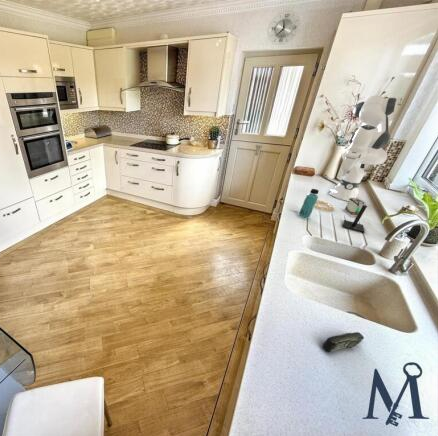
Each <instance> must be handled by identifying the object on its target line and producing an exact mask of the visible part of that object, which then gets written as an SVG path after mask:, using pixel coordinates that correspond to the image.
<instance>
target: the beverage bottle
mask: <svg viewBox="0 0 438 436" xmlns="http://www.w3.org/2000/svg"><path fill="white" fill-rule="evenodd" d="M318 194H319V189H316V188H311V189H310V190H309V193H308V194H306V197H305V198H304V201H303V203H302V205H301V207H300V209H299V212H298V215H299V216H300V217H303V218H307V219H308V218H310V216H311V214H312V212H313V210H314V208H315V207H314V205H315V204H317V203H316V201H317V200H318V199H319V196H318Z"/></svg>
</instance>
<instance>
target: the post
mask: <svg viewBox="0 0 438 436" xmlns="http://www.w3.org/2000/svg"><path fill="white" fill-rule="evenodd" d="M367 207H368V206H367V205H366V204H365V205H363V206H362V208H361V210H360V211H359V213H358V215H356V216H355V219H354V220H353V221H349V220H346V219H343V223H342V226H343V229H346V230H351V231H354V232H358V233H361V234H364V233H365V228H364V224H362V223H359V221H360V220H361V218H362V216H363V215H364V213H365V211H366V209H367Z"/></svg>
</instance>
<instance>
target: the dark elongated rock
mask: <svg viewBox="0 0 438 436" xmlns="http://www.w3.org/2000/svg"><path fill="white" fill-rule="evenodd" d="M364 338H365V337H364V335H363V334H361V332H359V331H355V332H344V333H341V334H337V335H333V336H332V335H331V336H330V337H327V338H326V340H325V341H324V342H323V344H322V348H323V349H324V351H325V352H326V353H331V352H335V351H338V350H341V349H350V348H351V349H352V348H354V347H356V346H357V345H359V344H360V343H361V342H362V341H363V340H364Z"/></svg>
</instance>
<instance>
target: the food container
mask: <svg viewBox="0 0 438 436" xmlns="http://www.w3.org/2000/svg"><path fill="white" fill-rule="evenodd" d="M356 198H357V197H356ZM356 198H351V197H350V198H349V201H347V203H346V205H345V208H344V210H345V211H346V212H347V213H348V214H350V215H351V217H357V215H358V213H359V211H360V210H361V208H362V206H363V205H366V202H365V201H363V200H361V199H359V198H357V199H356Z"/></svg>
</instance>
